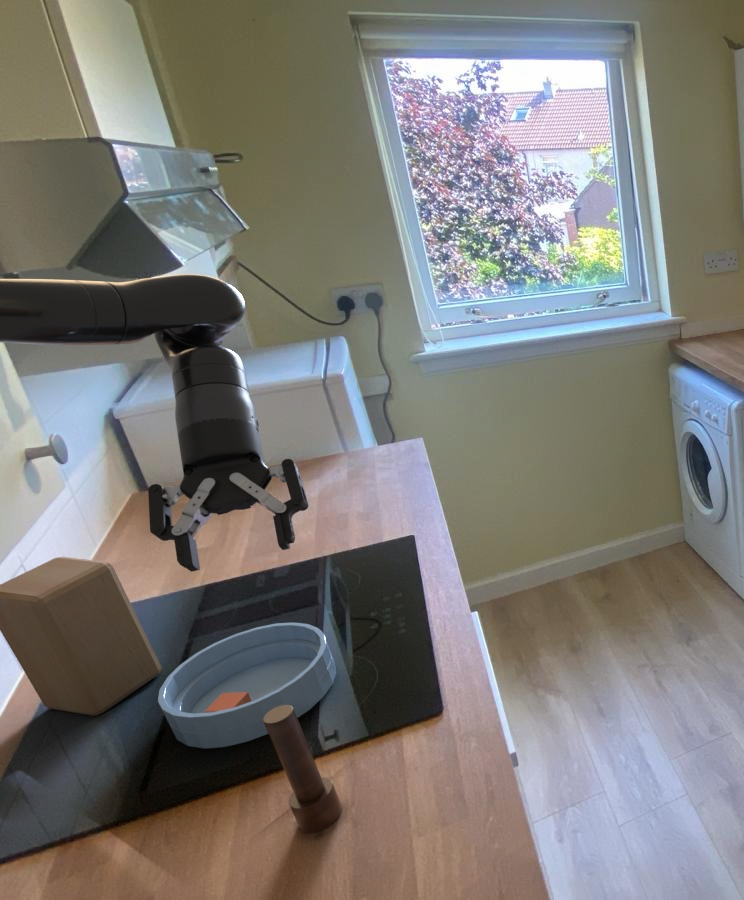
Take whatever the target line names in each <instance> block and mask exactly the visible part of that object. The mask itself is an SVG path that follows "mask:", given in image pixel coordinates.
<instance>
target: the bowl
mask: <svg viewBox="0 0 744 900" xmlns="http://www.w3.org/2000/svg"><path fill="white" fill-rule="evenodd" d="M337 674H338V673H337V666H336V662H335V659H334V656H333V654H332V651H331V647H330V646H329V643H328V639H327V637H326V634H324V633H323V631H322V630H321V629H320V628H319V627H316V626H315V625H311V624H309V623H303V622H294V621H293V622H280V623H272V624H267V625H261V626H258V627H254V628H251V629H247V630H244V631H241V632H237V633H234V634H232V635H230V636H228V637H225V638H223V639H221V640H219V641H218V640H217V641H216V642H214V643H212V644H210V645H208V646H207V647H205V648H203V649H201V650H199V651H198V652H196V653H195V654H193V655H192V656H190V657H189V658H188V659H186V660H185V661H183V662H182V663H181V664H179V665H178V666H177V667H176V668H175V669H174V670H173V671H172V672H171V673H170V674H169V675H167V676H166V678H165V680H164V682H163V684H162V685H161V687H160V688H159V690H158V697H157V703H158V704H159V707H160V709H161V711H162V713H163V715H164V716H165V719H166V720H167V723H168V725H169V726H170V727H169V728H171V731H172V733H173V735H174V737H175V739H176V740H177V741H178V742H180V743H182V744H184V745H185V746H187V747H191V748H199V749H217V748H227V747H231V746H236V745H240V744H243V743H247V742H251V741H253V740H255V739H258V738H261V737H264V736H266V735H269V733H268V731H267V729H266V726H265V724H264V722H263V717H264V716H265V714H266V713H267V712H269V711H270V710H272V709H273V708H276V707H278V706H281V705H290V706H292V707H293V709H294V711H295V714H296V716H297V719H298V718H300V717H301V716H302V715H304V714H306V713H307V712H309V711H310V710H311V709H312V708H313V707H315V706H316V705H317V703H319V702H320V701H321V700H322V699H323V698H324V697H325V696H326V694H327V693H328V692H329V690H330V689H331V687H332V686H333V684H334V683H335V679H336V676H337ZM238 692H248V694H249V696H250V698H251V702H249V703H246V704H243V705H240V706H237V707H234V708H230V709H225V710H221V711H216V712H210V713H205V710H206V709H207V708H208V707H209V706H210V705H211V704H212V703H213V702H214V701H215V700H216V699H217V698H218V697H219V696H220V695H221V694H222V693H238Z"/></svg>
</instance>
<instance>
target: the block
mask: <svg viewBox="0 0 744 900" xmlns="http://www.w3.org/2000/svg"><path fill="white" fill-rule="evenodd" d="M249 702H251V698H250V696H249V694H248V692H238V693H222V694H221V695H220V696H219V697H218V698H217V699H216V700H215V701H214V702H213V703H212V704H211V705H210V706H209V707H208V708H207V709H206V710H205V713H210V712H216V711H221V710H225V709H230V708H234V707H237V706H240V705H243V704H246V703H249Z"/></svg>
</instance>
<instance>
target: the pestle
mask: <svg viewBox="0 0 744 900" xmlns="http://www.w3.org/2000/svg"><path fill="white" fill-rule="evenodd" d="M263 722H264V724H265V726H266V729H267V731H268V733H269V734H268V735H269V738H270V741H271V742H272V745H273V747H274V750H275V752H276V755H277V757H278V759H279V762H280V763H281V766H282V768H283V770H284V773H285V775H286V778H287V781H288V782H289V785H290V787H291V789H292V793H291V794H290V796H289V799H288V804H289V807H290V809H291V812H292V814H293V816H294V819H295V821H296V823H297V825H298V828H299V830H300V831H301V832H303V833H306V834H315V833H318V832H320V831H323V830H326V829H327V828H329V827H330V826H332V825H333V824H334V823H335V822H336V821H337V820H338V819H339V818H340V816H341V815H342V812H343V805H342V803H341V800H340V798H339V795H338V793H337V791H336V788H335V785H334V783H333V780H332V779H330V778H329V777H323V776H321V773H320V771H319V768H318V766H317V763H316V760H315V758H314V756H313V754H312V751H311V749H310V746H309V744H308V742H307V739H306V737H305V734H304V731H303V729H302V727H301V723H300V722H299V719H298V718H297V716H296V714H295V711H294V709H293V707H292V706H290V705H281V706H278V707H276V708H273V709H272V710H270V711H269V712H267V713H266V714H265V716H264V717H263Z"/></svg>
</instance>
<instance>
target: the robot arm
mask: <svg viewBox="0 0 744 900" xmlns="http://www.w3.org/2000/svg"><path fill="white" fill-rule="evenodd" d="M245 312H246V303H245V299H244V296H243V295H242V294H241V293H240V292H239V290H238V289H237V288H236V287H234V286H233V285H231V284H230V283H228V282H226V281H224V280H222V279H220V278H217V277H214V276H211V275H204V274H197V273H182V274H172V275H171V274H170V275H163V276H155V277H147V278H141V279H140V278H139V279H135V280H129V281H122V282H115V281H100V280H82V279H81V280H79V279H77V280H76V279H52V278H48V279H47V278H0V343H4V344H21V345H23V344H24V345H44V346H45V345H46V346H101V345H103V346H104V345H105V346H106V345H108V346H109V345H111V346H112V345H128V344H135V343H139V342H141V341H143V340H146V339H147V338H149V337H151V336H152V335H154V339H155V341H156V345H157V346H158V348H159V350H160V352H161V355H162V357H163V358H164V360H165V362H166V364H167V366H168V368H169V369H170V371H171V379H172V386H173V387H172V388H173V391H174V392H173V394H174V399H175V400H174V401H175V409H174V419H175V427H176V433H177V439H178V447H179V453H180V459H181V460H180V461H181V466H182V473H183V477H182V480H181V482H180V484H172V485H167V486H162V485H160V484H158V483H154V484H151V485H150V486H149V487H148V488H147V489H148V490H147V493H148V494H147V495H148V513H149V515H148V517H149V532H150V533H151V534H152V535H154V536H155V537H156V538H158V539H159V540H161V541H163V542H167V541H174V548H175V554H176V561H177V563H178V564H179V565H180V566H181V567H183V568H184V569H187V570H188V571H189V572H191V573H192V572H197V571H200V570H201V566H200V559H199V552H198V544H197V540H196V539H195V538H194V537H195V536H196V534H197V533H198V532H199V530H200V529H201V527H202V526H204V525H206V524H207V522H209V520H210V518H211V517H212V515H213V514H217V515H218V516H220V515H225V514H229V513H230V512H234V511H243V510H244V511H245V510H249V509H251V508H252V507H253V506H254V505H255V504H258V505H260V506H261V507H263V508H264V509H266V510H267V511H269V512H271V513H272V514H274V515H272V519H273V524H274V529H275V535H276V541H277V544H278V547H279V548H280V549H281V551H285V550H289V549H291V544H294V543H295V541H296V534H295V530H294V525H293V519H292V518H293V516H294V515H295V514H297V513H299V512H304V511H306V510H308V509H309V507H310V506H309V505H310V504H309V502H308V501H309V500H308V498H307V495H306V491H305V488H304V484H303V480H302V477H301V473H300V469H299V468H298V466H297V465H296V463H295V461H294V460H293V459H291V458H285V459H283V460H282V461H281V463H279V464H276V465H272V466H267V465H266V463H265V459H264V453H263V448H262V447H263V446H262V443H261V436H260V431H259V419H258V418H257V415H256V409H255V407H254V403H253V402H252V399H251V396H250V391H249V385H248V379H247V374H246V369H245V366H244V363H243V361H242V359H241V357H240V356H239V355H238V354H237V353H236V352H234V351H232V349H229V348H226V347H223V341H224V339H225V338H226V337H227V335H228V334H230V333H231V331H232V330H233V329H235V327H236V326H237V325H239V323H240V322H241V321H242V319H243V318H244V315H245ZM273 477H274V478H275V477H276V478H278V480H279V481H280V482H281V483H286V486H287V490H288V494H289V497H290V499H288V500H287V501H284V502H282V501H281V500H279V499H278V498H276V497H275V496H273V495H272V494H271V493H270V492H268V491H267V490H266V489H267V487H268V486H269V484H270V483H271V481H272V479H273ZM183 495H184V496H185V497H186V498H188V499H189V501H188V502H187V504H186V505H185V506H184V508H183V509H182V512H181V516H180V517H179V519H178V520H177V521H176V523H175V524H174V525H173V512H172V511H173V510H172V506H173V507H174V506H175V505H176V504H177V503H178V499H179V498H180V497H181V496H183Z"/></svg>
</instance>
